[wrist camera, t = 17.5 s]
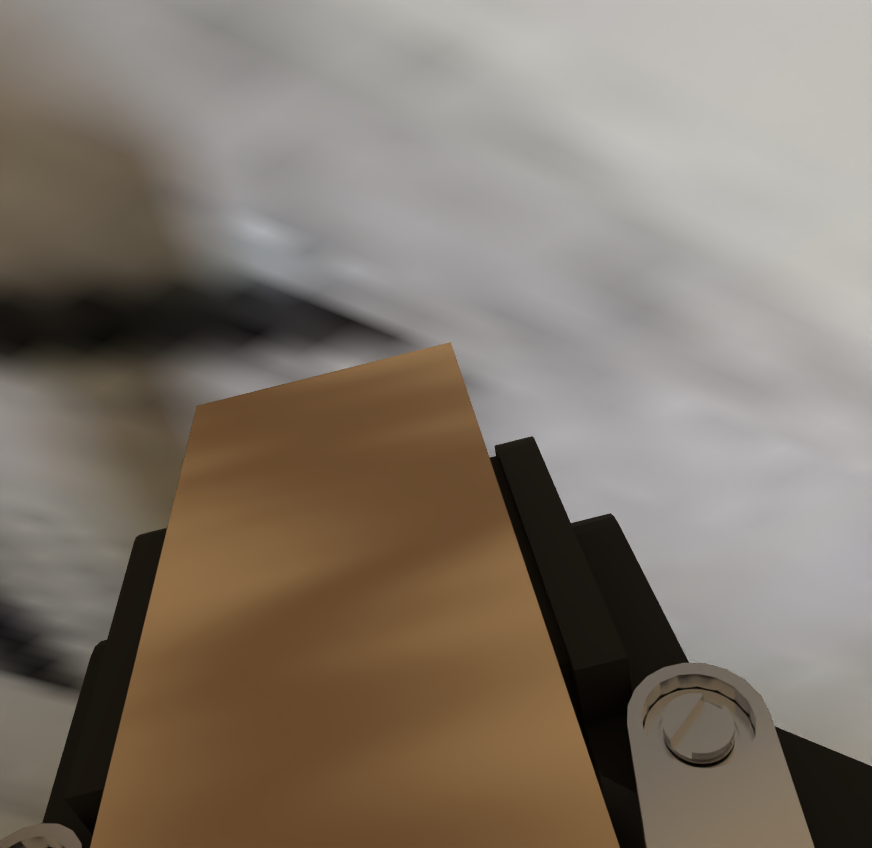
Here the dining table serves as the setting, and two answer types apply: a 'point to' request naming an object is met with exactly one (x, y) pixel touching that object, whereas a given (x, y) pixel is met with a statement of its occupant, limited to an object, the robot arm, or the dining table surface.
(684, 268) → the dining table surface
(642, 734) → the robot arm
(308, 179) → the dining table surface
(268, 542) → the tan block with rod
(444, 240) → the dining table surface
